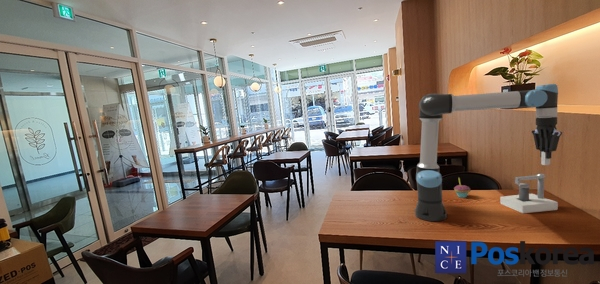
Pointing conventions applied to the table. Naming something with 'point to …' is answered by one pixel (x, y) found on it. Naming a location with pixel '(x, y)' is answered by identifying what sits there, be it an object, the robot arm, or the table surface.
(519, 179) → the clip
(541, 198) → the socket block
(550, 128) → the robot arm
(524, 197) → the plug
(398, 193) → the table surface
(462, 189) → the cupcake
